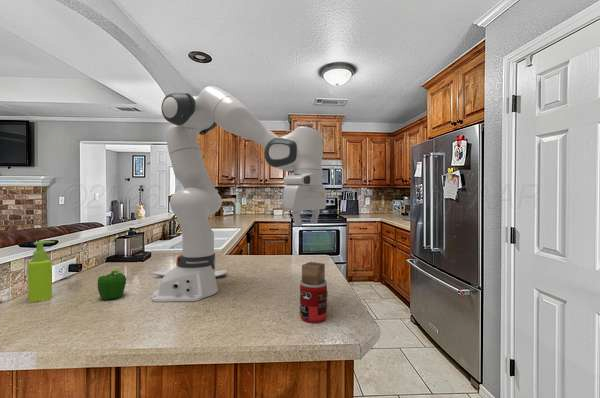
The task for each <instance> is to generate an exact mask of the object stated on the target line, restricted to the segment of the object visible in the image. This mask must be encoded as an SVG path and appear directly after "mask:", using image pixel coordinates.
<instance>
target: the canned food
mask: <svg viewBox="0 0 600 398" xmlns="http://www.w3.org/2000/svg"><path fill="white" fill-rule="evenodd" d="M327 285H328V282H327V280H326V279H325V281H323V282H321V283H319V284H318V285H314V284H309V283H304V282H302V279H301V280H300V281H299V317H300V319H301V320H302V321H303V322H306V323H309V324H318V323H319V324H320V323H323V322H325V321H326V319H327V315H328V313H327V312H328V311H327V308H328V306H327V291H328V286H327Z"/></svg>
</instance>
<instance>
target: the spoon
mask: <svg viewBox="0 0 600 398" xmlns="http://www.w3.org/2000/svg"><path fill="white" fill-rule="evenodd" d="M171 270H172V269H169V268H166V267H164V266H161V267H160V268H159V270H157V271H151V272H150V274H152V275H156V276H161V277H164V276H165V275H166V274H167V273H168V272H170V271H171ZM227 273H228V270H225V269H223V270H215V278H218V277H221V276H224V275H226V274H227Z"/></svg>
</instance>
